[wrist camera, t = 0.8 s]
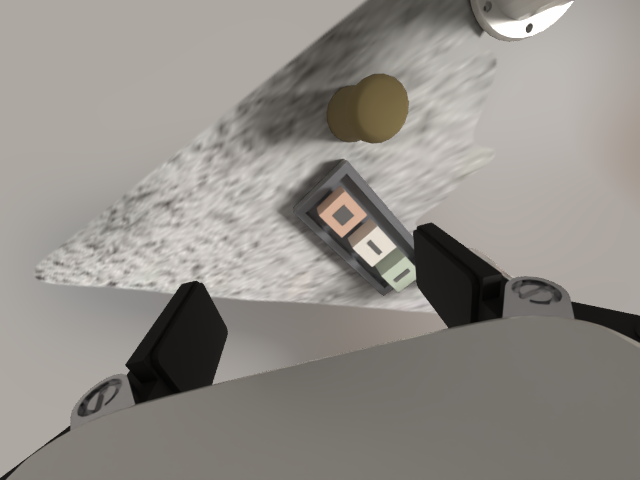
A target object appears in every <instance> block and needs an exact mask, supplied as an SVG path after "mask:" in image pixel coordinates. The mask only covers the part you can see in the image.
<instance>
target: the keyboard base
mask: <svg viewBox="0 0 640 480" xmlns="http://www.w3.org/2000/svg"><path fill="white" fill-rule="evenodd" d="M339 186H341V187H342V188H343V189H344V190H345V191H346V192H347V193H348V194H349V195H350V196H351V198H352V199H353V200H354V201H355V202H356V203H357V204H358V205H359V206H360V207H361V208H362V210H363V211H364V212H365V213H366V214H367V216H366V217H365V218H363V219H362V220H361V221H360V222H359V223H358V224H357V225H356V226H354V227H353V228H352V229H351V230H350V231H349V232H348V233H347V234H346V235H344V236H343V237H341V236H340V235H338V234H337V233H336V232H335V231H334V230H333V229H332V228H331V227H330V226H329V225H328V224H327V223H326V222H325V221H324V220H323V219H322V218H321V217H320V216H319V214H318V211H317V207H318V206H319V205H320V204H321V203H322V202H323V201H324V200H325V199H326V198H327V197H328V196H329V195H331V194H332V193H333V192H334V191H335V190H336V189H337V188H338V187H339ZM294 214H295V215H296V216H297V217H298V218H299V219H301V220H302V221H303V222H304V223H305V224H306V225H307V226H308V227H309V228H310V229H311V230H312V231H314V232H315V233H316V234H317V235H318V236H319V237H320V238H321V239H322V240H323V241H324V242H325V243H326V244H328V245H329V246H330V247H331V248H332V249H333V250H334V251H335V252H336V253H337V254H338V255H339V256H341V257H342V258H343V259H344V260H345V261H346V262H347V263H348V264H349V265H350V266H351V267H352V268H354V269H355V270H356V271H357V272H358V273H359V274H360V275H361V276H362V277H363V278H364V279H365V280H366V281H368V282H369V283H370V284H371V285H372V286H373V287H374V288H375V289H376V290H377V291H378V292H379V293H381V294H382V295H383V296H384V295H386V294H387V293H388V292H390V291H391V290H392V289H393V287H392V286H391V285H390V284H389V283H388V282H387V281H386V280H385V279H384V278H383V277H382V276H381V275H380V273H379V271H378V270H377V268H376V266H375V265H374V266H373V267H371V266H370V265H369V264H368V263H367V262H366V261H365V260H364V259H363V258H362V257H361V256H360V255H359V254H358V253H357V252H356V251H355V250H354V249H353V248H352V246H351V244H350V242H349V240H348V237H349V236H350V235H351V234H353V233H354V232H355V231H356V230H357V229H358V228H359V227H361V226H362V225H363V224H364V223H365V222H366V221H367V220H368V219H370V218H371V219H372V220H373V221H374V223H375V224H376V225H377V226H378V227H379V228H380V229H381V230H382V231H383V232H384V233H385V234H386V236H387V237H388V238H389V239H390V240H391V241H392V242H393V243H394V245H395V246H397V248H398V249H399V250H400V251H401V252H402V253H403V254H404V255H405V256H406V257H407V258H408V259H409V261H410V262H411V263H412V264H413V265H414V266H415V254H414V239H413V236H412V235H411V234H410V233H409V232H408V231H407V230H406V228H405V227H404V226H403V225H402V224H401V223H400V221H399V220H398V219H397V218H396V217H395V216H394V214H393V213H392V212H391V211H390V210H389V209H388V207H387V206H386V205H385V204H384V203H383V202H382V200H381V199H380V198H379V197H378V196H377V195H376V194H375V192H374V191H373V190H372V189H371V188H370V187H369V185H368V184H367V183H366V182H365V181H364V180H363V178H362V177H361V176H360V175H359V174H358V173H357V171H356V170H355V169H354V168H353V167H352V166H351V165H350V163H349V162H348V161H347V160H345V159H343V160H342V161H341V162H340V163H339V164H337V165H336V166H335V167H334V168H333V169H332V170H331V171H330V172H329V173H328V174H327V175H326V176H325V177H324V178H323V179H322V180H321V181H320V182H319V183H318V184H317V185H316V186H315V187H314V188H313V189H312V190H311V191H310V192H309V193H308V194H307V195H306V196H305V197H304V198H303V199H302V200H301V201H300V202H299V203H298V204H297V205H296V206H295V207H294Z"/></svg>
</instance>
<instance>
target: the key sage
mask: <svg viewBox="0 0 640 480" xmlns="http://www.w3.org/2000/svg"><path fill="white" fill-rule="evenodd" d="M375 266H376V268H377V270H378V271H379V273H380V275H381V276H382V277H383V278H384V279H385V280H386V281H387V282H388V283H389V284H390V285H391V286H392V287H393V288H394V289H395V290H396V291H397V292H398V293H399V292H400V291H401V290H403V289H404V288H405V287H407V286H408V285H409V284H410V283H412V282H413V281H414V280H416V269H415V266H414V265H413V264H412V263H411V262H410V261H409V259H408V258H407V257H406V256H405V255H404V254H403V253H402V252H401V251H400V250H399V249H398V248H397V246H396V248H395V249H394V250H392V251H391V252H390V253H389V254H387V255H386V256H385V257H384V258H383V259H381V260H380V261H379V262H378V263H377V264H375Z"/></svg>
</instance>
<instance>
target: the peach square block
mask: <svg viewBox="0 0 640 480" xmlns="http://www.w3.org/2000/svg"><path fill="white" fill-rule="evenodd" d="M317 211H318V214H319V216H320V217H321V218H322V219H323V220H324V221H325V222H326V223H327V224H328V225H329V226H330V227H331V228H332V229H333V230H334V231H335V232H336V233H337V234H338V235H340V236H341V237H343V236H344V235H346V234H347V233H348V232H349V231H350V230H351V229H352V228H353V227H354V226H356V225H357V224H358V223H359V222H360V221H361V220H362V219H363V218H365V217H366V216H367V214H366V213H365V212H364V211H363V210H362V208H361V207H360V206H359V205H358V204H357V203H356V202H355V201H354V200H353V199H352V198H351V196H350V195H349V194H348V193H347V192H346V191H345V190H344V189H343V188H342V187H341V186H339V187H338V188H337V189H336V190H335V191H334V192H333V193H332V194H331V195H329V196H328V197H327V198H326V199H325V200H324V201H323V202H322V203H321V204H320V205H319V206H318V207H317Z"/></svg>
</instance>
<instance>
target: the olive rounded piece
mask: <svg viewBox="0 0 640 480" xmlns="http://www.w3.org/2000/svg"><path fill="white" fill-rule="evenodd" d="M408 106H409V101H408V97H407V92H406V90H405V89H404V87H403V85H402V83H400V82H399V81H398V80H397V79H396V78H395V77H392V76H389V75H386V74H373V75H370V76H368V77H366V78H364V79H362V80H361V81H360V82H359V83H358V84H357V85H353V86H346V87H344V88H342V89H340V90H339V91H338V92H337V93H335V94H334V95H333V97H332V99H331V101H330V102H329V105H328V110H327V122H328V125H329V127H330V130H331V131H332V133H333V134H334V135H335V136H336V137H337V138H339V139H340V140H342V141H346V142H357V141H359V140H362V141H365V142H368V143H382V142H384V141H386V140H388V139H390V138H392V137H393V136H394V135H395V134H396V133H398V132H399V131H400V129H401V128H402V126H403V125H404V123H405V120H406V117H407V114H408Z"/></svg>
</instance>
